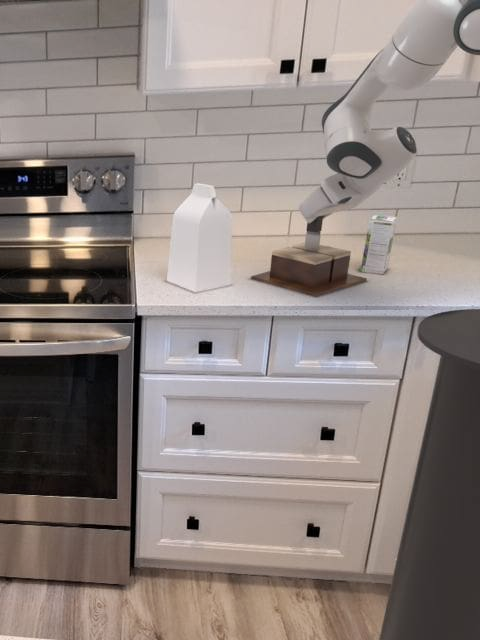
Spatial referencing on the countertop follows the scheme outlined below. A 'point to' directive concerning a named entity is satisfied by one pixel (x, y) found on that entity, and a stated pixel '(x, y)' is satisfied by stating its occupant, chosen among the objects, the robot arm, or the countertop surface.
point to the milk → (201, 242)
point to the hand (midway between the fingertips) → (312, 219)
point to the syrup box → (378, 244)
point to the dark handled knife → (313, 235)
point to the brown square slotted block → (310, 270)
